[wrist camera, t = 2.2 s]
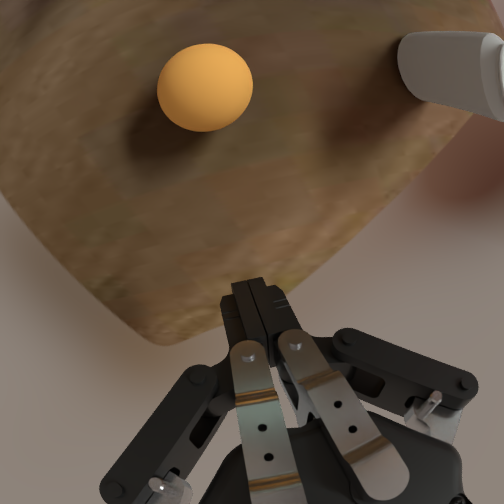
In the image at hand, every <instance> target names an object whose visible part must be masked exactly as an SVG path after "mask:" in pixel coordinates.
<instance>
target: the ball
mask: <svg viewBox="0 0 504 504" xmlns="http://www.w3.org/2000/svg"><path fill="white" fill-rule="evenodd" d="M252 89H253V81H252V76H251V73H250V70H249V68H248V66H247V64H246V63H245V61H244V60H243V59H242V58H241V57H240V56H239V55H238V54H237V53H235V52H234V51H232V50H231V49H229V48H226V47H224V46H221V45H216V44H199V45H194V46H191V47H188V48H186V49H183V50H182V51H180V52H178V53H177V54H175V55H174V56H173V57H172V58H171V59H170V60H169V61H168V62H167V63H166V65H165V66H164V68H163V70H162V71H161V74H160V76H159V80H158V84H157V96H158V100H159V103H160V106H161V108H162V110H163V112H164V113H165V114H166V116H167V117H168V118H169V119H170V120H171V121H172V122H174V123H175V124H177V125H178V126H180V127H182V128H185V129H188V130H191V131H197V132H207V131H214V130H218V129H221V128H223V127H225V126H227V125H229V124H231V123H232V122H234V121H235V120H236V119H237V118H238V117H239V116H240V115H241V114H242V113H243V112H244V110H245V109H246V107H247V105H248V104H249V101H250V99H251V95H252Z"/></svg>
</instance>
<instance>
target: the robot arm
mask: <svg viewBox="0 0 504 504" xmlns="http://www.w3.org/2000/svg"><path fill="white" fill-rule="evenodd" d="M231 287H232V293H233V294H231V295H226V296H223V297H222V299H221V302H220V308H221V312H222V317H223V321H224V326H225V330H226V335H227V339H228V343H229V352H228V354H227V356H226V358H225V359H224V360H223V361H221V362H220V363H218V364H216V365H214V366H212V367H209V366H206V365H194V366H192V367H189V368H188V369H186V370H185V371H184V372H183V374H182V375H181V376H180V378H179V379H178V380H177V382H176V383H175V384H174V386H173V387H172V389H171V390H170V391H169V392H168V394H167V395H166V397H165V398H164V400H163V401H162V402H161V403H160V405H159V406H158V407H157V409H156V410H155V411H154V413H153V414H152V415H151V417H150V418H149V419H148V421H147V422H146V423H145V424H144V426H143V427H142V428H141V430H140V431H139V432H138V434H137V435H136V436H135V438H134V439H133V440H132V442H131V443H130V444H129V446H128V447H127V448H126V449H125V451H124V452H123V453H122V455H121V456H120V457H119V458H118V460H117V461H116V462H115V464H114V465H113V466H112V468H111V469H110V470H109V471H108V473H107V474H106V475H105V476H104V478H103V479H102V481H101V483H100V486H99V487H100V488H99V490H100V494H101V496H102V498H103V500H104V501H105V502H106V503H107V504H190V501H191V498H192V495H193V492H192V488H191V486H190V484H189V483H188V482H187V481H185V479H186V478H187V476H188V475H189V473H190V472H191V470H192V469H193V467H194V466H195V464H196V463H197V461H198V460H199V458H200V457H201V455H202V454H203V452H204V450H205V449H206V447H207V446H208V444H209V442H210V441H211V439H212V438H213V436H214V434H215V433H216V431H217V430H218V428H219V426H220V425H221V423H222V421H223V420H224V418H225V416H226V415H227V412H228V411H230V410H232V409H234V408H235V407H236V411H237V417H238V424H239V430H240V436H241V441H242V444H240V445H239V446H237V447H236V448H234V449H233V450H232V451H231V452H230V453H229V454H228V455H227V456H226V457H225V459H224V460H223V462H222V464H221V466H220V467H219V469H218V471H217V473H216V474H215V476H214V478H213V480H212V482H211V483H210V485H209V487H208V488H207V490H206V492H205V494H204V495H203V497H202V499H201V500H200V502H199V504H472V503H471V502H470V501H469V500H468V498H467V497H466V496H465V494H464V491H463V485H462V461H461V457H460V455H459V453H458V451H457V450H456V449H455V448H454V447H453V446H452V444H453V441H454V438H455V435H456V432H457V428H458V425H459V421H460V418H461V413H462V410H463V408H464V407H465V406H466V405H467V404H468V403H469V402H470V401H471V400H472V398H473V397H475V395H476V394H477V392H478V381H477V380H476V378H475V376H474V375H473V374H471V373H469V372H467V371H465V370H462V369H459V368H456V367H453V366H450V365H448V364H445V363H442V362H439V361H437V360H434V359H431V358H429V357H426V356H423V355H420V354H418V353H415V352H412V351H410V350H407V349H405V348H402V347H399V346H397V345H394V344H392V343H389V342H386V341H384V340H381V339H379V338H376V337H374V336H371V335H369V334H366V333H364V332H361V331H359V330H356V329H353V328H343V329H340V330H338V331H337V332H336V333H335V334H334V336H333V337H314V336H311V335H309V334H308V333H307V332H305V331H303V329H302V328H301V326H300V324H299V322H298V320H297V318H296V316H295V314H294V312H293V310H292V309H291V306H290V305H289V302H288V300H287V299H286V296H285V294H284V292H283V291H282V290H281V289H280V288H279V287H277V286H276V285H272V286H266V284H265V282H264V280H263V278H262V277H259V278H254V279H249V280H247V281H246V280H245V281H240V282H235V283H231ZM269 365H270V367H275V366H276V367H277V370H278V373H279V381H280V383H281V385H282V388H283V390H284V392H285V394H286V396H287V398H288V400H289V402H290V404H291V406H292V408H293V410H294V413H295V415H296V419H297V423H298V426H299V427H298V428H286V425H285V421H284V417H283V413H282V409H281V405H280V402H279V398H278V395H277V392H276V391H275V388H274V384H273V381H272V376H271V372H270V369H269ZM359 399H361V400H363V401H365V402H368V403H370V404H372V405H375V406H377V407H380V408H382V409H384V410H387V411H389V412H392V413H394V414H397V415H400V416H402V417H404V421H405V424H406V426H404V425H401V424H399V423H396V422H394V421H392V420H390V419H388V418H385V417H383V416H381V415H379V414H376V413H374V412H371V411H366V410H365V408H364V407H363V405H362V403H361V402H360V400H359Z"/></svg>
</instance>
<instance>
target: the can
mask: <svg viewBox="0 0 504 504" xmlns="http://www.w3.org/2000/svg"><path fill="white" fill-rule="evenodd" d="M397 60H398V68H399V71H400V74H401V77H402V80H403V81H404V83H405V85H406V87H407V88H408V90H409V91H410V92H411V93H412V94H413V95H414V96H415V97H417V98H419V99H420V100H422V101H427V102H432V103H437V104H441V105H446V106H450V107H454V108H458V109H462V110H466V111H469V112H473V113H476V114H480V115H483V116H486V117H489V118H492V119H495V120H498V121H503V122H504V41H503V40H502V39H501V38H500V37H498V36H497V35H495V34H494V33H483V32H466V31H432V32H415V33H409V34H407V35H406V36H405V37H403V38H402V40H401V42H400V44H399V47H398V54H397Z"/></svg>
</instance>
